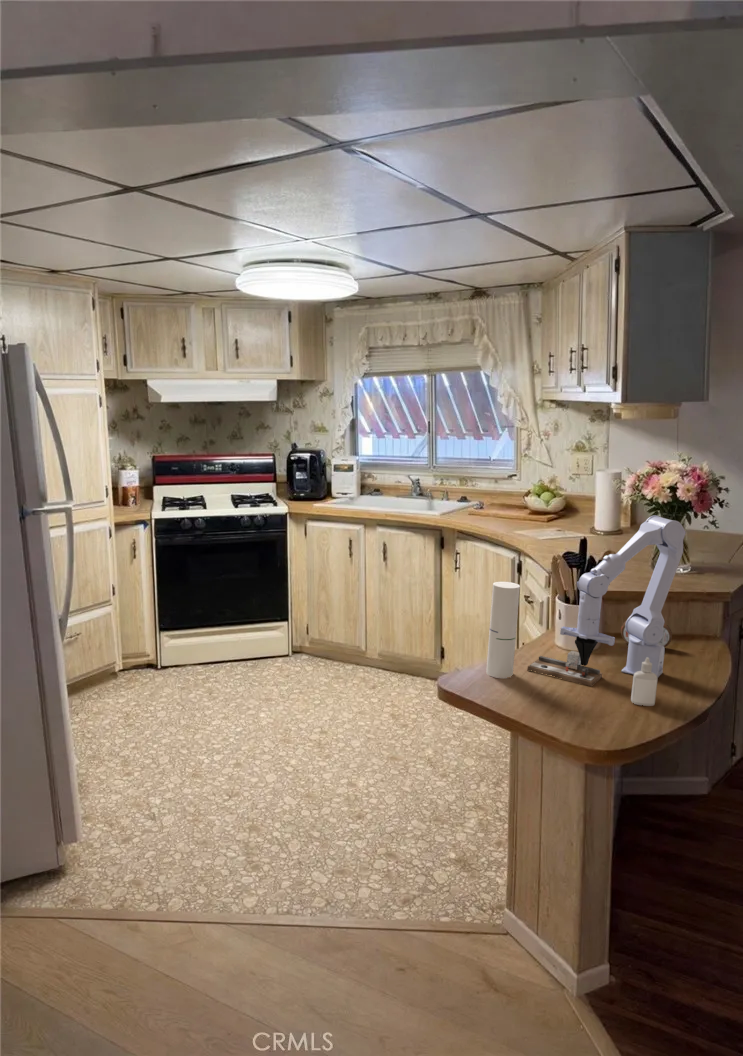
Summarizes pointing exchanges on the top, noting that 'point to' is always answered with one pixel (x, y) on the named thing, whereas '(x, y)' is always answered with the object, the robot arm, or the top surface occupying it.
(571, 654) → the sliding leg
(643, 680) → the eye dropper bottle
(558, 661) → the gauge board
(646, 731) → the top surface
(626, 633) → the tin
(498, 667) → the cylindrical container
